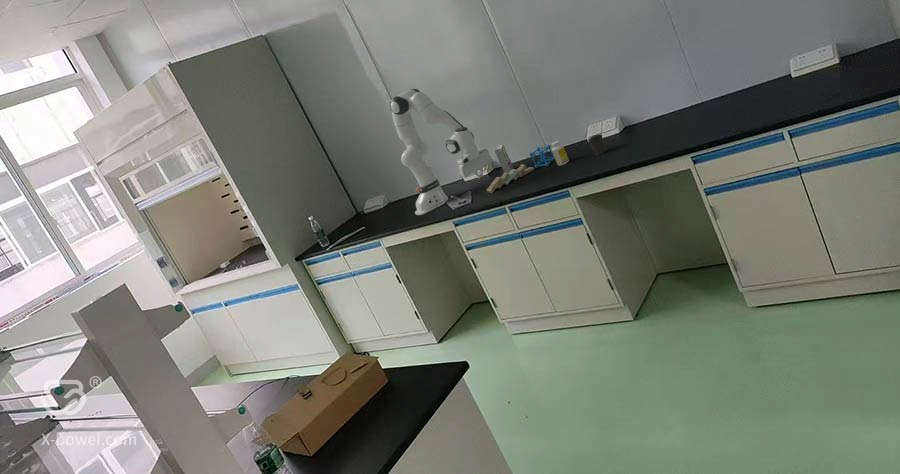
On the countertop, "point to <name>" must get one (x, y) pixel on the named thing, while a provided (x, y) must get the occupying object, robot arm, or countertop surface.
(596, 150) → the coffee cup
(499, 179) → the domino
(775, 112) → the countertop surface
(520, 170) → the domino
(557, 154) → the supplement bottle
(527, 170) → the domino
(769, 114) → the countertop surface
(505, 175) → the domino
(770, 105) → the countertop surface
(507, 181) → the sage domino
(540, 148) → the molecular structure
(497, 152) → the candy bar box
